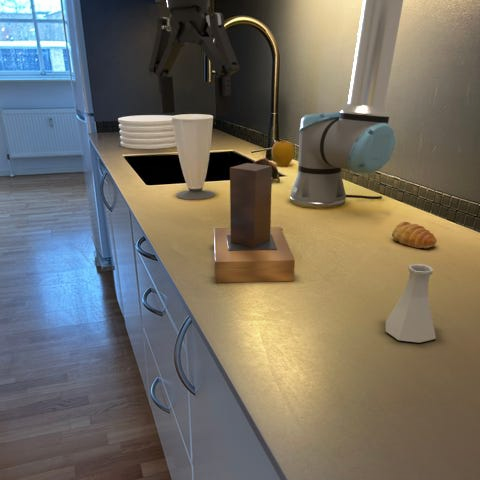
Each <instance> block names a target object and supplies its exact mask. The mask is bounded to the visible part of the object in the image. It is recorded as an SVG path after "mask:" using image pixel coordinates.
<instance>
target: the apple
mask: <svg viewBox="0 0 480 480" xmlns="http://www.w3.org/2000/svg"><path fill="white" fill-rule="evenodd" d="M270 151H271V156H272V159H273V161H274V163H275V165H277V166H280V167H288V166H289V165H290V164H291V163H292V161H293V159H294V157H295V146H294V145H293V143H292V142H291V141H286V140H281V141H275V143H274V144H273V145H272V147H271V150H270Z"/></svg>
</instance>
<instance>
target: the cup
mask: <svg viewBox="0 0 480 480" xmlns="http://www.w3.org/2000/svg"><path fill="white" fill-rule="evenodd" d="M172 116H173V117H172V122H173V129H174V135H175V141H176V150H177V156H178V159H179V164H180V168H181V171H182V176H183V177H184V178H183V179H184V181H185V184H186V187H187V190H183V191H179V192H178V193H176V195H175V196H176V197H177V198H178V199H181V200H186V201H187V200H188V201H201V200H208V199H212V198H214V197H215V196H216V193H215V192H213V191H210V190H204V186H205V182H206V179H207V173H208V167H209V162H210V155H211V147H212V138H213V125H214V124H213V123H214V116H213V115H211V114H204V113H203V114H201V113H187V114H186V113H185V114H176V115H172Z"/></svg>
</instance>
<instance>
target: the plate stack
mask: <svg viewBox="0 0 480 480" xmlns="http://www.w3.org/2000/svg"><path fill="white" fill-rule="evenodd" d="M173 116H174V115H168V114H167V115H165V114H143V115H141V114H140V115H127V116H121V117H118V118H117V122H118V123H119V124H118V128H119V129H120V130H119V135H120V136H119V140H120V146H121V147H123V148H127V149H135V150H157V149H158V150H159V149H168V148H174V147H175V148H177V146H176V141H175V135H174V129H173V122H172V117H173Z"/></svg>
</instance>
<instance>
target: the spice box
mask: <svg viewBox="0 0 480 480" xmlns="http://www.w3.org/2000/svg"><path fill="white" fill-rule="evenodd" d="M272 181H273V180H272V166H267V165H260V164H253V163H251V162H245V163H242V164H238V165H235V166H230V167H229V197H230V198H229V213H230V214H229V215H230V217H229V218H230V219H229V220H230V223H229V224H230V226H229V228H230V229H231V243H234V244H239V245H243V246H248V247H252V248H256V247H258V246H260V245H262V244H264V243H266V242H268V241H270V227H271V224H272V223H271V220H272V219H271V218H272V187H273V185H272Z"/></svg>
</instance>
